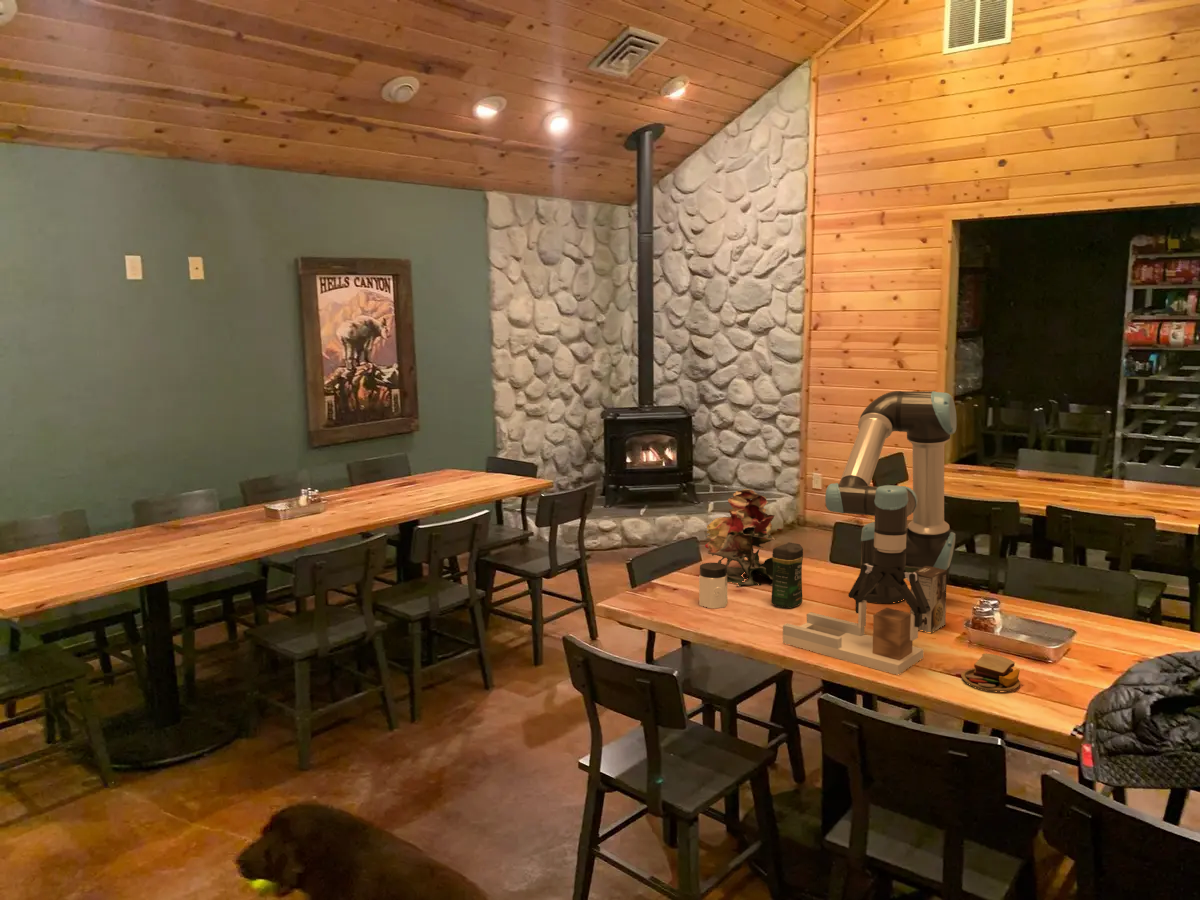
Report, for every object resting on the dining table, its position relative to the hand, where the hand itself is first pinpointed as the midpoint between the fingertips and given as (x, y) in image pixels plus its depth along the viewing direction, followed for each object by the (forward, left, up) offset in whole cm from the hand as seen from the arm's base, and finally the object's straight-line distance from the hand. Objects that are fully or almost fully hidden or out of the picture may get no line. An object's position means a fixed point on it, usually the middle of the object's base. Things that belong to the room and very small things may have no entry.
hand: (887, 632), depth 215 cm
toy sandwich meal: (-19, +15, -8) cm, 25 cm away
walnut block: (-1, +1, -5) cm, 5 cm away
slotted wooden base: (+6, -8, -7) cm, 12 cm away
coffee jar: (+11, -47, -8) cm, 49 cm away
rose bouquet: (+17, -77, -8) cm, 79 cm away
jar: (+33, -50, -8) cm, 60 cm away
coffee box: (-21, -22, -8) cm, 31 cm away
